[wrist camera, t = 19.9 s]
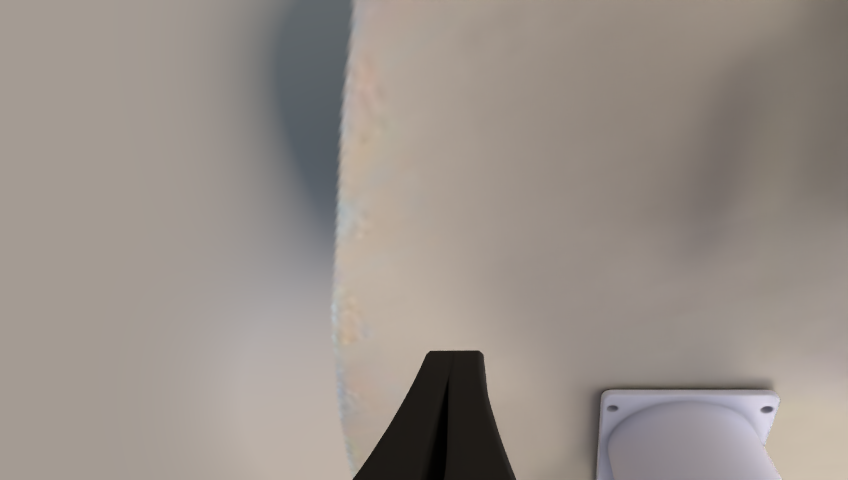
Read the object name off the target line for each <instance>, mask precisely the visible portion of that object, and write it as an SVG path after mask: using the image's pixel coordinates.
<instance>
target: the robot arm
mask: <svg viewBox="0 0 848 480" xmlns="http://www.w3.org/2000/svg"><path fill="white" fill-rule="evenodd" d="M779 404H780V398H779V396H778V395H777V393H776V392H775V391H773V390H607V391H605V392H604V393H602V395H601V406H600V422H599V438H598V454H597V470H596V480H782V478H781V476H780V475H779V473H778V471H777V469H776V467H775V466H774V464H773V462H772V460H771V458H770V457H769V455H768V453H767V451H766V449H765V448H764V446H765V443H766V441H767V438H768V435H769V432H770V429H771V427H772V424H773V421H774V418H775V415H776V413H777V410H778V407H779ZM610 405H612V406H610ZM353 480H516V478H515V475H514V473H513V470H512V468H511V465H510V463H509V460H508V457H507V455H506V452H505V449H504V446H503V444H502V441H501V438H500V435H499V432H498V429H497V425H496V422H495V419H494V415H493V412H492V409H491V405H490V401H489V397H488V392H487V383H486V374H485V365H484V356H483V354H482V353H481V352H480V351H430V352H429V353H427V354H426V356H425V359H424V361H423V363H422V366H421V368H420V370H419V372H418V374H417V376H416V378H415V380H414V382H413V384H412V386H411V388H410V390H409V392H408V394H407V396H406V397H405V399H404V401H403V403H402V404H401V406H400V408H399V410H398V411H397V413H396V415H395V417H394V418H393V420H392V422H391V423H390V425H389V427H388V428H387V430H386V431H385V433H384V434H383V436H382V438H381V439H380V441H379V442H378V444H377V445H376V447H375V448H374V450H373V451H372V453H371V455H370V456H369V457H368V459H367V460H366V462H365V463H364V465H363V466H362V467H361V469H360V470H359V472H358V473H357V474H356V476H355V477H354V478H353Z"/></svg>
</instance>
